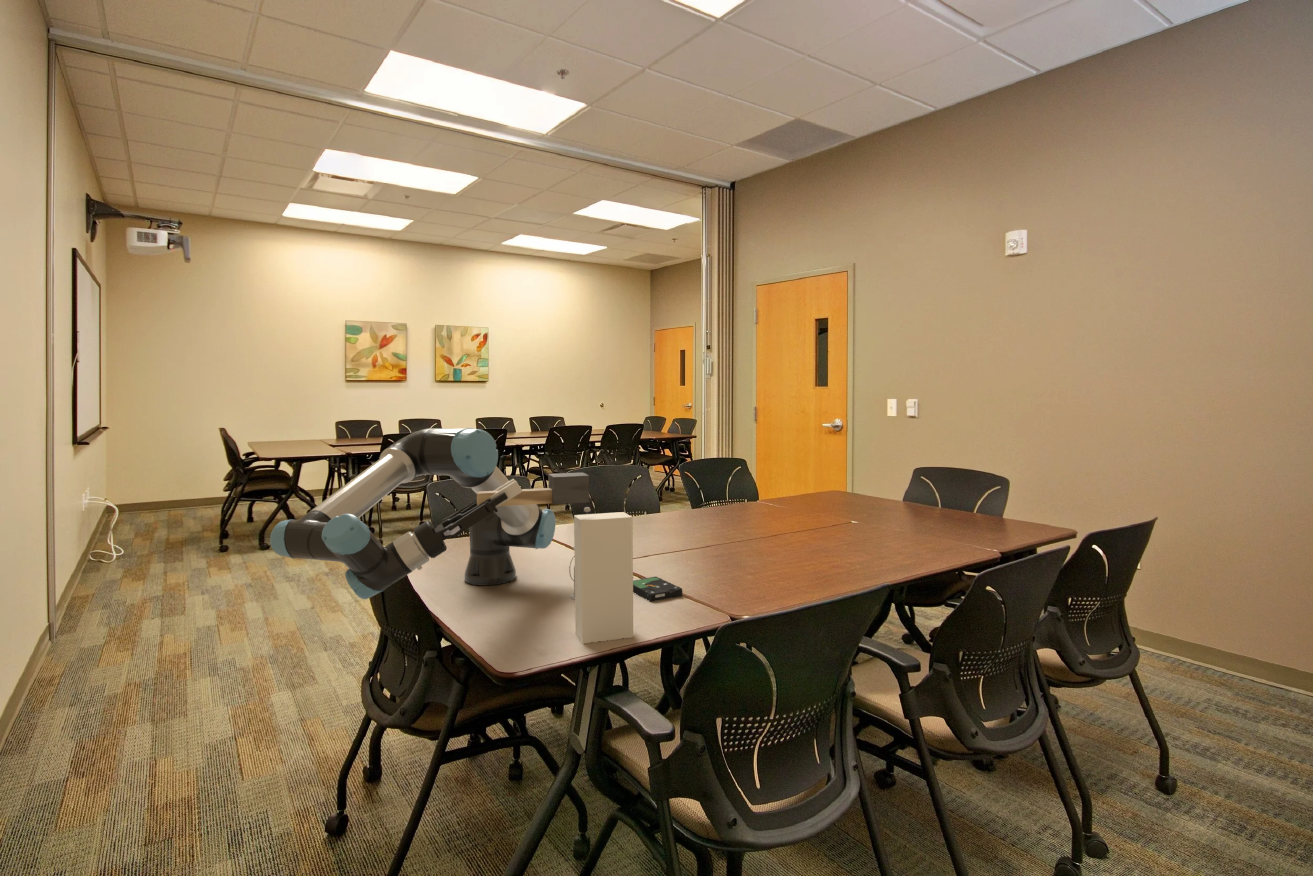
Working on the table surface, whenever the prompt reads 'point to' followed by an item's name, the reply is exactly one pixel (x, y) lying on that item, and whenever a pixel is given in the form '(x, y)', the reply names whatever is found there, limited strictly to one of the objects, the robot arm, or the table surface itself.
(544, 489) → the mallet
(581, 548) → the stand
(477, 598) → the table surface
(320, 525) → the robot arm
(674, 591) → the disk drive
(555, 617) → the table surface
